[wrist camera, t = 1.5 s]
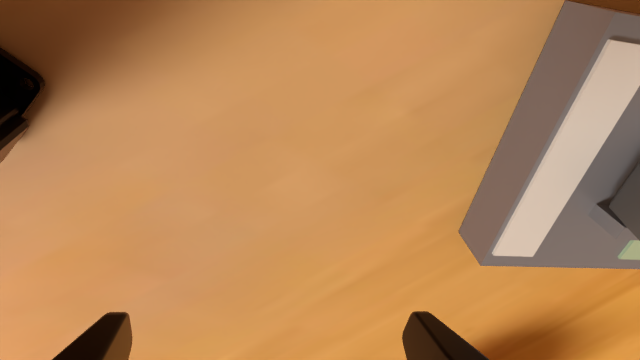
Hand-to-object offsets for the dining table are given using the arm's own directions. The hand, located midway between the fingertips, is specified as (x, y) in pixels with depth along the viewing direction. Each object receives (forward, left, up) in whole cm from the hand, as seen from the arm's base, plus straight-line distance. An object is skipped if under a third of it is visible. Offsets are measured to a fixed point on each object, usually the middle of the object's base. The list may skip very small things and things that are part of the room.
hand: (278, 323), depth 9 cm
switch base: (+15, +12, -12) cm, 22 cm away
